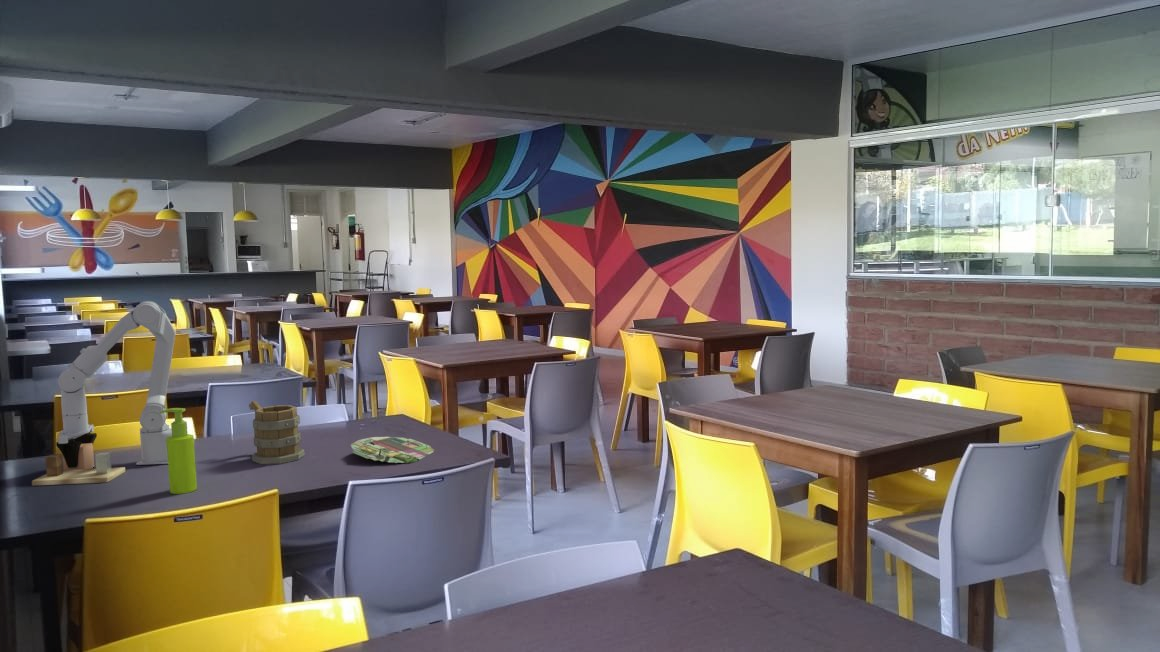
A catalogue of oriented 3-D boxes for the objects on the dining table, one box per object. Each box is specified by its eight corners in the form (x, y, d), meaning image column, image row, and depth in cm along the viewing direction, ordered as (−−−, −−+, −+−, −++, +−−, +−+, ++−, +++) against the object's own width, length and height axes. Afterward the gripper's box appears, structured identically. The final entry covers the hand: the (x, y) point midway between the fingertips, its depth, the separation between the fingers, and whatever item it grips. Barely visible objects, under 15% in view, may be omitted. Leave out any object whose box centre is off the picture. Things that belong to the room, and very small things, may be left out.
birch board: (125, 471, 219) (125, 467, 219) (107, 482, 209) (107, 477, 209) (53, 474, 218) (53, 470, 218) (32, 485, 208) (31, 480, 208)
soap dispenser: (171, 487, 203) (165, 406, 201) (200, 486, 204) (195, 405, 202) (161, 494, 197) (155, 411, 195) (191, 493, 198) (185, 410, 196)
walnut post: (63, 473, 214) (61, 454, 214) (57, 476, 212) (56, 456, 211) (52, 473, 214) (50, 454, 214) (47, 476, 211) (45, 457, 211)
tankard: (311, 457, 230) (308, 404, 229) (267, 466, 221) (264, 411, 219) (276, 446, 244) (273, 396, 242) (234, 455, 234) (230, 402, 233)
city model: (414, 477, 216) (416, 454, 215) (331, 463, 220) (333, 441, 220) (448, 455, 240) (450, 434, 240) (373, 443, 245) (375, 422, 244)
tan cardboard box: (94, 467, 225) (92, 443, 224) (84, 472, 220) (82, 447, 219) (74, 468, 224) (72, 444, 224) (64, 473, 219) (62, 448, 219)
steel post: (111, 471, 215) (110, 452, 215) (107, 473, 213) (105, 454, 212) (101, 471, 215) (99, 452, 215) (96, 474, 213) (94, 455, 212)
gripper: (73, 409, 227) (77, 458, 229) (44, 420, 213) (48, 472, 214) (100, 408, 228) (103, 456, 229) (72, 419, 214) (77, 470, 215)
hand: (78, 464), depth 222 cm, fingers open, 6 cm apart
